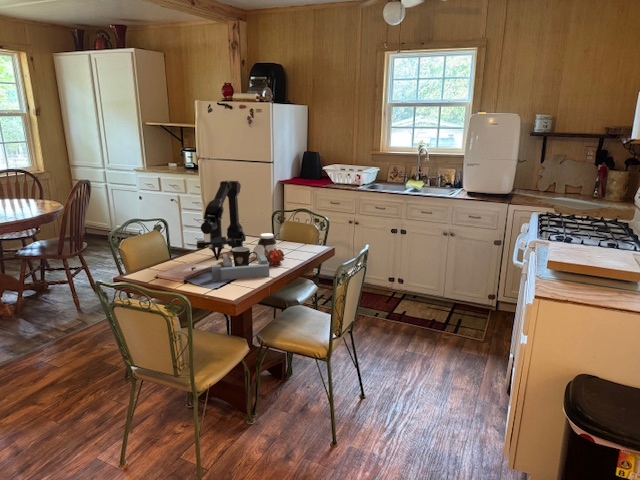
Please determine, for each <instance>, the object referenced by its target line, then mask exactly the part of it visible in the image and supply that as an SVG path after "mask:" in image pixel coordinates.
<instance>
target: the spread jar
mask: <svg viewBox="0 0 640 480" xmlns="http://www.w3.org/2000/svg"><path fill="white" fill-rule="evenodd" d="M252 249H253V250H252V252H256V253H257V255H265V257H266V258H267V254H268V253H269V252H270V251H271V250H274V249H276V250H278V242H277V240H276V239H275V237H274V234H273V233H268V232H266V233H260V238H259V239H258V242H257V245H255V246H254V247H253V248H252ZM252 255H253V257H254V259H255V258H256V254H255V253H252ZM256 259H258V256H257V258H256Z"/></svg>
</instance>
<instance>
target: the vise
mask: <svg viewBox="0 0 640 480" xmlns="http://www.w3.org/2000/svg"><path fill="white" fill-rule="evenodd" d="M257 261H258V264H253V265H252V264H251V265H250V264H249V266H237V267H235V266H233V267H224V266H223V267H222V266H221V264H213V265H211V281H212V280H218V281H224V280H223V279H230V280H239V279H251V278H263V277H269V276H270V264H269V263H268V260H267V257H265V255H258V258H257Z"/></svg>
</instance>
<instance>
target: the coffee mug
mask: <svg viewBox="0 0 640 480" xmlns="http://www.w3.org/2000/svg"><path fill="white" fill-rule="evenodd" d="M231 250H232V252H231V253H232V258H233V264H234V267H237V266H249V265H250V264H251V263H253V262H255V260H256V259H258V258H257V256H258V255H257V253H256V252H253V251H251V248H250V247H248V246H243V247H236V248H233V249H232V248H231ZM250 251H251V252H250ZM253 253H255V254H256V258H255V257H254V259H253V260H251V261H250V256H251V254H253Z"/></svg>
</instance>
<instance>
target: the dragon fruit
mask: <svg viewBox="0 0 640 480" xmlns="http://www.w3.org/2000/svg"><path fill="white" fill-rule="evenodd" d="M284 257H285V254H284V251H283V250H282V249H280V248H277V250H276V249H274V250H271V251H270V252H269V253H268V254H267V257H266V258H267V260H268V264H269V266H274V265H279V266H280V264H281V262H283V261H285V259H286V258H284Z"/></svg>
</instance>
